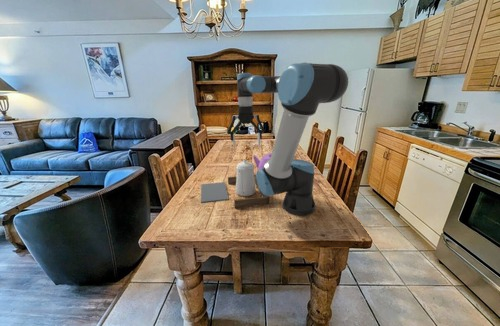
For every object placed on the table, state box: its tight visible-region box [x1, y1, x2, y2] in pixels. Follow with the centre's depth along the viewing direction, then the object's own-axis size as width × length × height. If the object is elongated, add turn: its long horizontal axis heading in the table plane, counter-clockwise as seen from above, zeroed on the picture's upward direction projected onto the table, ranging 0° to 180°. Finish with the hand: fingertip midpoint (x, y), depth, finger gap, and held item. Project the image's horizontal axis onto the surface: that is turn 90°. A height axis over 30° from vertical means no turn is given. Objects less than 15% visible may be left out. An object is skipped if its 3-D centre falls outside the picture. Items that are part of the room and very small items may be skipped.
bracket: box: [227, 174, 271, 209], centre depth 119 cm, size 30×17×4 cm, turn 12°
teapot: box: [252, 152, 272, 171], centre depth 143 cm, size 20×20×15 cm
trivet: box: [200, 181, 229, 204], centre depth 121 cm, size 22×14×1 cm, turn 12°
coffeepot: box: [235, 159, 256, 197], centre depth 117 cm, size 11×25×19 cm, turn 168°
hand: (246, 145), depth 118 cm, fingers open, 13 cm apart
